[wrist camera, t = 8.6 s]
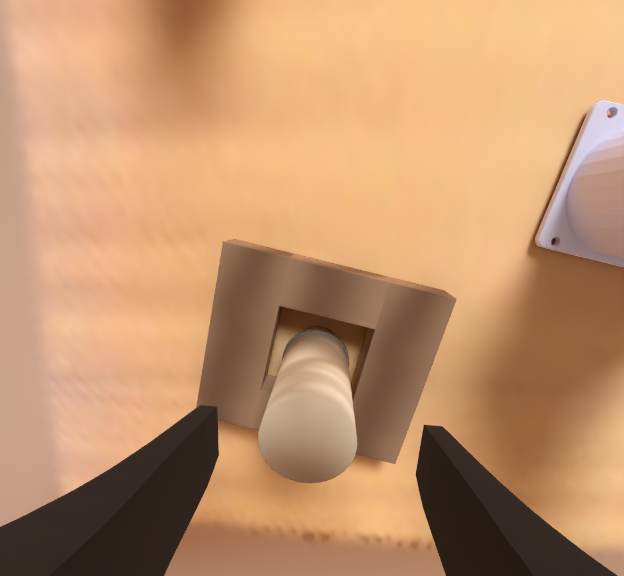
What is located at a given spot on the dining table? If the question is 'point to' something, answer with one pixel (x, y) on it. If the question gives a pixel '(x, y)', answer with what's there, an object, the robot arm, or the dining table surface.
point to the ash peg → (310, 410)
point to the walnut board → (332, 304)
